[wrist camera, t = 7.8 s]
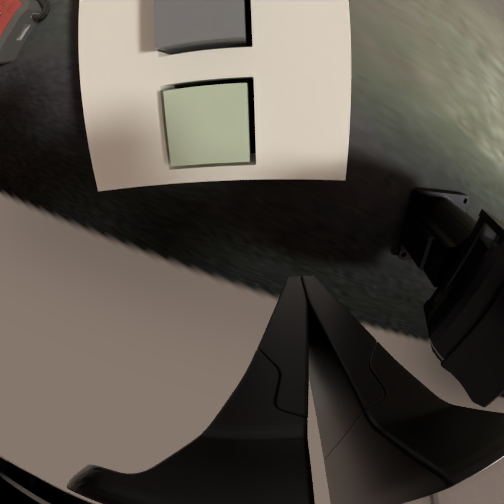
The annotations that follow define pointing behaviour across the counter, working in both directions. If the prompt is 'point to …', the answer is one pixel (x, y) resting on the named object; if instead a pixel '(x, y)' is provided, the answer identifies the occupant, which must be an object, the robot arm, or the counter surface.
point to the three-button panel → (213, 69)
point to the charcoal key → (199, 24)
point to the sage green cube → (208, 124)
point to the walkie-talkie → (18, 24)
